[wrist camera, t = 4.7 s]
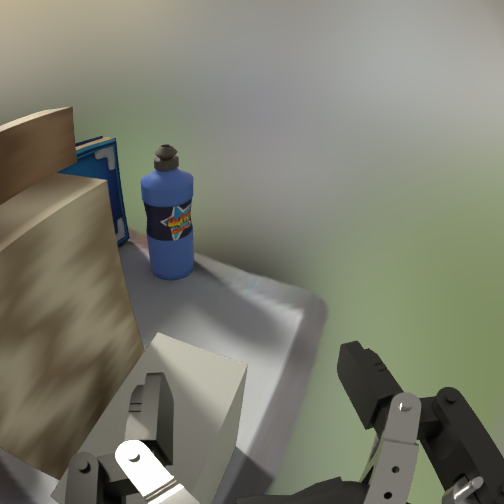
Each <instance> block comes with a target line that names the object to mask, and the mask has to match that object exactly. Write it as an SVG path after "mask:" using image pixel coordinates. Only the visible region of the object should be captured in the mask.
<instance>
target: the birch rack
mask: <svg viewBox="0 0 504 504" xmlns="http://www.w3.org/2000/svg"><path fill="white" fill-rule="evenodd" d="M144 352H145V350H144V347H143V344H142V341H141V337H140V334H139V331H138V327H137V324H136V321H135V317H134V313H133V310H132V306H131V302H130V298H129V295H128V291H127V287H126V282H125V278H124V274H123V269H122V265H121V260H120V256H119V251H118V246H117V240H116V235H115V230H114V224H113V218H112V212H111V205H110V198H109V191H108V183H107V180H103V179H96V178H89V177H82V176H75V175H68V174H61V173H55V174H53V175H51V176H49V177H47V178H45V179H43V180H42V181H40V182H38V183H36V184H34V185H33V186H31V187H29V188H27V189H26V190H24V191H22V192H21V193H19V194H17V195H16V196H14V197H12V198H11V199H9V200H8V201H6V202H4V203H3V204H1V205H0V447H1V448H3V449H4V450H6V451H7V452H9V453H10V454H12V455H14V456H15V457H17V458H19V459H20V460H22V461H24V462H25V463H27V464H29V465H31V466H33V467H34V468H36V469H38V470H40V471H42V472H44V473H46V474H48V475H50V476H52V477H54V478H56V479H58V480H61V478H62V476H63V475H64V473H65V471H66V470H67V468H68V467H69V462H70V460H71V458H72V457H73V456H74V455H75V454H77V452H78V451H79V449H80V448H81V446H82V444H83V443H84V441H85V440H86V438H87V437H88V435H89V434H90V432H91V430H92V429H93V427H94V426H95V424H96V423H97V421H98V420H99V418H100V417H101V415H102V414H103V412H104V411H105V409H106V408H107V406H108V405H109V403H110V402H111V400H112V399H113V397H114V396H115V394H116V393H117V391H118V390H119V388H120V387H121V385H122V384H123V382H124V381H125V379H126V378H127V376H128V375H129V373H130V372H131V371H132V369H133V368H134V366H135V365H136V363H137V362H138V360H139V359H140V357H141V356H142V355H143V353H144Z"/></svg>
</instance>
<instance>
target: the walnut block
mask: <svg viewBox="0 0 504 504" xmlns="http://www.w3.org/2000/svg"><path fill="white" fill-rule="evenodd" d="M75 163H77V155H76V146H75V136H74V124H73V108H72V107H66V108H59V109H51V110H45V111H41V112H38V113H35V114H31V115H29V116H26V117H23V118H20V119H17V120H15V121H12V122H9V123H7V124H5V125H2V126H0V205H1V204H3V203H4V202H6V201H8V200H9V199H11V198H12V197H14V196H16V195H17V194H19V193H21V192H22V191H24V190H26V189H27V188H29V187H31V186H33V185H34V184H36V183H38V182H40V181H42V180H43V179H45V178H47V177H49V176H51V175H53V174H55V173H57V172H59V171H61V170H63V169H65V168H67V167H69V166H71V165H73V164H75Z"/></svg>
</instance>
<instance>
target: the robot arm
mask: <svg viewBox="0 0 504 504" xmlns="http://www.w3.org/2000/svg"><path fill="white" fill-rule="evenodd" d="M337 373H338V377H339V379H340V381H341V383H342V385H343V387H344V389H345V391H346V393H347V395H348V396H349V398H350V400H351V402H352V404H353V406H354V408H355V410H356V412H357V414H358V416H359V418H360V420H361V422H362V423H363V425H364V427H365V429H366V430H367V429H370V428H372V427H374V429H375V431H376V436H375V440H374V443H373V446H372V450H371V453H370V456H369V459H368V462H367V465H366V467H365V470H364V472H363V474H362V476H361V478H360V481H359V482H355V481H342V480H341V477H337V478H333V479H330V480H326V481H323V482H320V483H316V484H314V485H312V486H310V487H308V488H306V489H304V490H302V491H300V492H297V493H295V494H293V495H287V496H286V495H283V496H282V495H258V496H251V497H244V498H236V502H237V503H236V504H410V503H407V502H406V501H407V498H408V494H409V491H410V487H411V483H412V479H413V474H414V470H415V465H416V461H417V455H418V450H419V445H418V444H416V440H420V442H421V444H422V446H423V448H424V450H425V452H426V454H427V455H428V458H429V460H430V462H431V463H432V465H433V467H434V469H435V471H436V473H437V475H438V478H439V480H440V482H441V484H442V486H443V488H444V490H445V493H444V495H443V497H442V504H504V458H503V456H502V455H501V453H500V452H499V450H498V448H497V447H496V445H495V443H494V442H493V440H492V439H491V437H490V435H489V434H488V432H487V431H486V429H485V428H484V426H483V425H482V423H481V422H480V420H479V419H478V417H477V416H476V414H475V413H474V411H473V410H472V408H471V407H470V406H469V404H468V403H467V401H466V400H465V399H464V397H463V396H462V394H461V393H460V392H459V391H458V390H457V389H455V388H452V387H445V388H443V389H441V390H439V392H438V393H437V395H436V396H434V397H426V398H418V397H417V396H416V395H413V394H412V393H407V392H403V390H402V389H401V387H400V386H399V385H398V383H397V382H396V380H395V379H394V377H393V376H392V375H391V373H390V372H389V370H387V367H386V366H385V364H384V363H383V362H382V360H381V359H380V357H379V356H378V354H376V353H374V352H373V351H372V350H370V349H369V348H368V349H365V350H364V349H363V348H362V346H361V344H360V343H359V342H358V341H353V342H349V343H345V344H342V345H341V347H340V353H339V359H338V364H337ZM128 411H129V413H128V417H127V423H126V430H125V437H124V442H123V444H121V445H120V446H119V448H118V449H117V451H115V452H113V453H111V454H107V455H103V456H98V457H95V456H94V455H93V454H91V453H88V452H80V453H77V454H75V455H74V456H73V457H72V458H71V460H70V462H69V468H68V476H67V484H66V493H65V504H126V496H127V495H131V494H136V493H141V494H142V495H143V497H144V498H145V501H146V502H147V504H200V503H199V502H198V501H197V500H196V499H195V498H194V497H193V496H192V495H191V494H190V493H189V492H188V491H187V490H186V489H185V488H184V487H183V486H182V485H181V484H180V483H179V482H178V481H177V480H175V479H174V478H173V477H172V476H171V474H170V473H169V472H168V471H167V470H166V466H171V465H173V421H174V400H173V395H172V392H171V390H170V387H169V385H168V382H167V379H166V377H165V374H164V373H163V372H157V373H147V374H146V378H145V384H144V385H137V386H136V387H135V389H134V390H133V392H132V393H131V399H130V405H129V410H128Z"/></svg>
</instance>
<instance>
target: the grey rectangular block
mask: <svg viewBox="0 0 504 504" xmlns="http://www.w3.org/2000/svg"><path fill="white" fill-rule="evenodd" d="M247 367H248V364H247V363H243V362H240V361H237V360H234V359H231V358H228V357H225V356H222V355H219V354H216V353H213V352H210V351H207V350H204V349H201V348H198V347H196V346H193V345H190V344H187V343H185V342H182V341H179V340H177V339H174V338H172V337H169V336H166V335H164V334H161V333H159V332H158V333H157V335H156V336H155V337H154V339H153V340H152V342H151V343H150V345H149V346H148V347H147V349H146V350H145V352H144V353H143V355H142V356H141V357H140V359H139V360H138V362H137V363H136V365H135V366H134V368H133V369H132V371H131V372H130V373H129V375H128V376H127V378H126V379H125V381H124V382H123V384H122V385H121V387H120V388H119V390H118V391H117V393H116V394H115V396H114V397H113V399H112V400H111V402H110V403H109V405H108V406H107V408H106V409H105V411H104V412H103V414H102V415H101V417H100V418H99V420H98V421H97V423H96V424H95V426H94V427H93V429H92V430H91V432H90V434H89V435H88V437H87V438H86V440H85V441H84V443H83V444H82V446H81V448H80V449H79V451H78V452H77V453H80V452H88V453H91V454H93V455H94V456H95V457H98V456H103V455H107V454H111V453H113V452H115V451H117V449H118V448H119V446H120V445H121V444H123V442H124V437H125V430H126V423H127V417H128V413H129V411H128V410H129V405H130V399H131V393H132V392H133V390H134V389H135V387H136V386H137V385H144V384H145V378H146V374H147V373H157V372H163V373H164V374H165V377H166V379H167V382H168V385H169V387H170V390H171V392H172V395H173V400H174V421H173V465H171V466H166V470H167V471H168V472H169V473H170V474H171V476H172V477H173V478H174V479H175V480H177V481H178V482H179V483H180V484H181V485H182V486H183V487H184V488H185V489H186V490H187V491H188V492H189V493H190V494H191V495H192V496H193V497H194V498H195V499H196V500H197V501H198V502H199V503H200V504H211V503H212V501H213V499H214V497H215V494H216V492H217V490H218V487H219V485H220V483H221V481H222V478H223V476H224V473H225V471H226V469H227V466H228V464H229V461H230V459H231V457H232V454H233V452H234V449H235V447H236V441H237V435H238V428H239V421H240V415H241V408H242V401H243V394H244V387H245V380H246V374H247ZM68 468H69V467H68ZM68 468H67V470H66V471H65V473H64V475H63V476H62V478H61V480H60V481H59V483H58V484H57V486H56V488H55V489H54V491H53V493H52V494H51V497H52V498H53V499H54V500H56V501H57V502H58V503H59V504H65V493H66V484H67V476H68ZM126 504H147V502H146V501H145V498H144V497H143V495H142V494H141V493H136V494H131V495H127V496H126Z"/></svg>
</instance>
